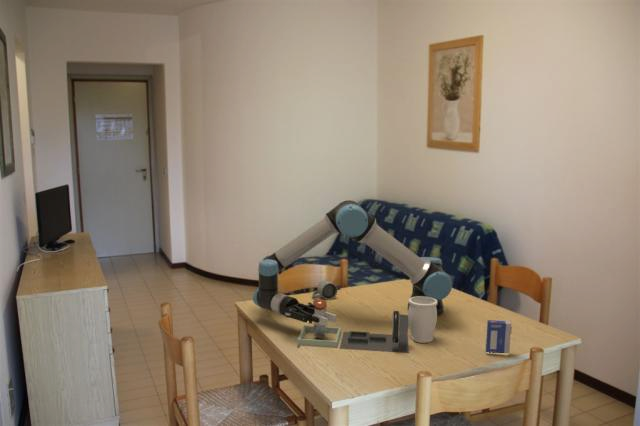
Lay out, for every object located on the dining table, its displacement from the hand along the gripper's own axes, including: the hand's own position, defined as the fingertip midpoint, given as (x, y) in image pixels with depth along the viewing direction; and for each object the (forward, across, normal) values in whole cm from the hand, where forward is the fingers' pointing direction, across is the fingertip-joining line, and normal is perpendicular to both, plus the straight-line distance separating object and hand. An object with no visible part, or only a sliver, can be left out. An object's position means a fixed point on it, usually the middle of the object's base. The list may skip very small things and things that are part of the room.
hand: (331, 320), depth 207 cm
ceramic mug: (-38, -39, -10) cm, 55 cm away
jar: (+20, -28, -10) cm, 36 cm away
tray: (-5, 0, -9) cm, 11 cm away
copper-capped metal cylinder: (-5, 0, -7) cm, 9 cm away
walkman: (+47, -35, -9) cm, 59 cm away
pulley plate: (+11, -12, -9) cm, 18 cm away
